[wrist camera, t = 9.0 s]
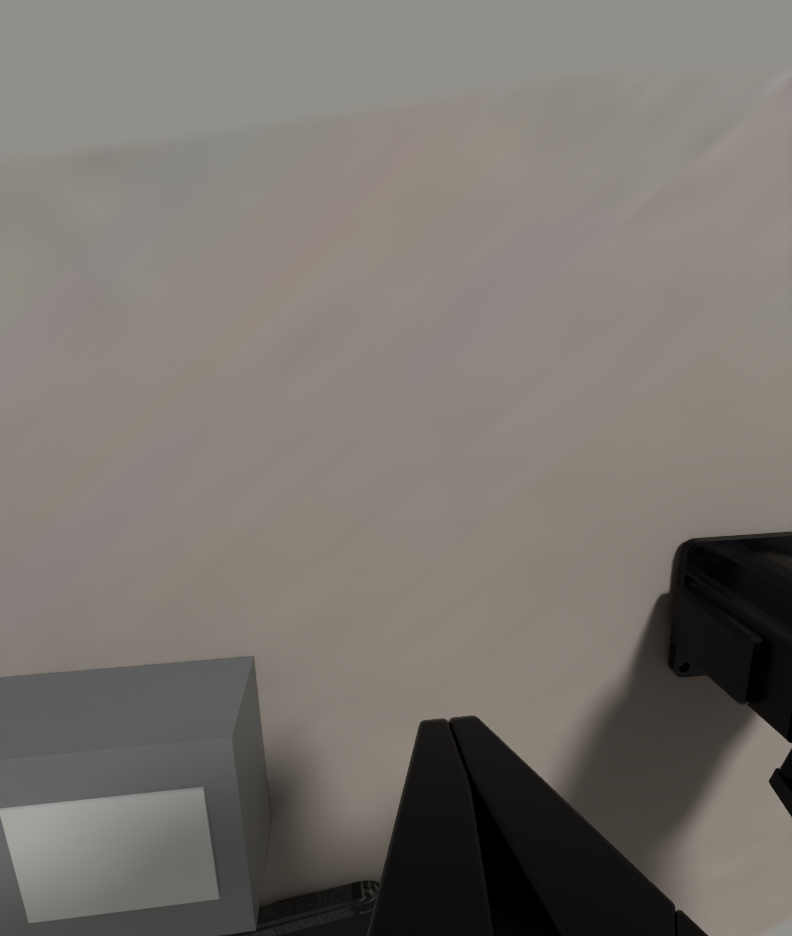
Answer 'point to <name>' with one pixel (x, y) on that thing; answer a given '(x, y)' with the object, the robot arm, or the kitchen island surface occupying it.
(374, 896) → the phone
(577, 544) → the kitchen island surface
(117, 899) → the camera case
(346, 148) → the kitchen island surface
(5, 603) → the kitchen island surface
